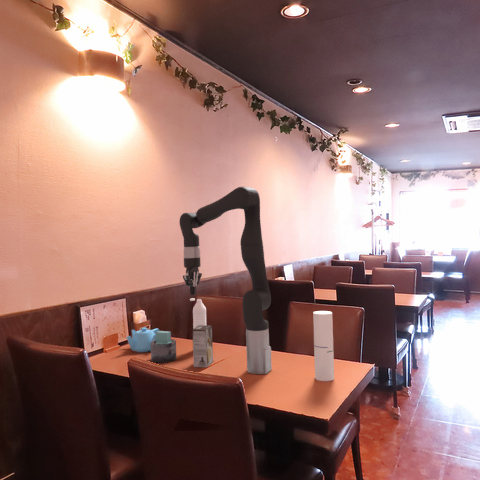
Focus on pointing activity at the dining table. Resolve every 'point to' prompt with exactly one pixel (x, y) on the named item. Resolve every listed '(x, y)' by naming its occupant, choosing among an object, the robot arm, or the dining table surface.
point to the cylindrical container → (323, 345)
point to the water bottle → (199, 313)
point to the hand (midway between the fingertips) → (193, 294)
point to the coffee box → (202, 346)
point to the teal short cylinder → (163, 337)
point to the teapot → (142, 339)
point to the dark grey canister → (163, 352)
